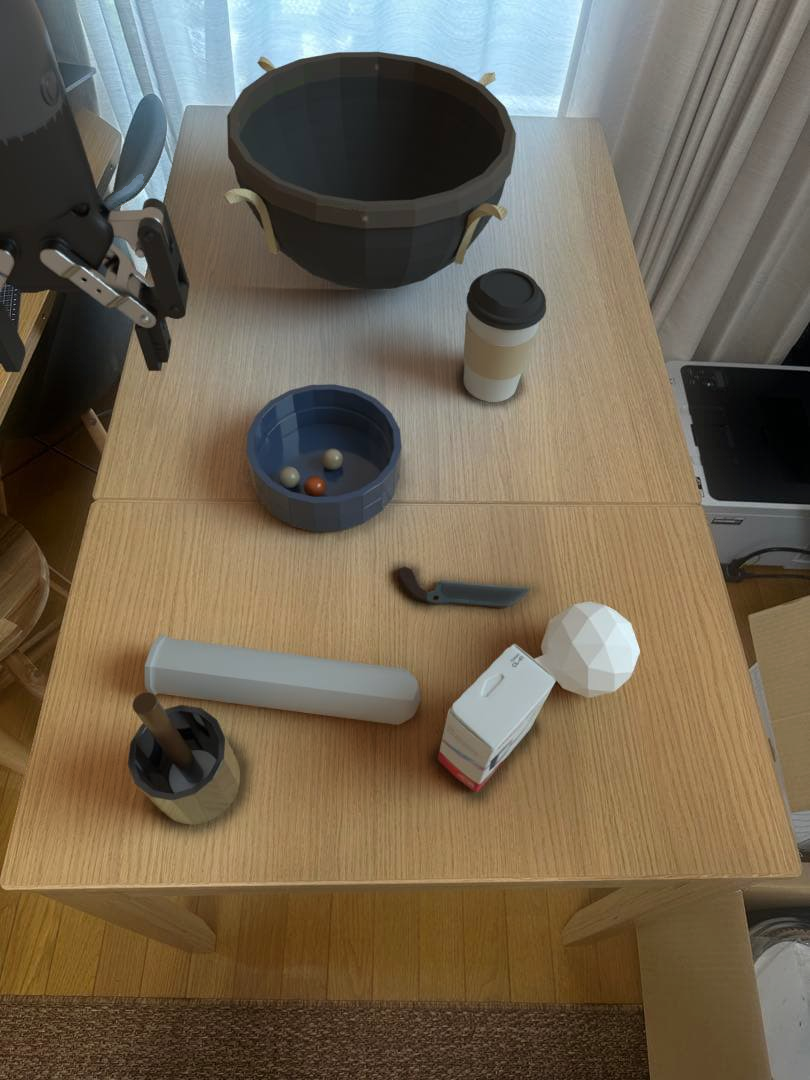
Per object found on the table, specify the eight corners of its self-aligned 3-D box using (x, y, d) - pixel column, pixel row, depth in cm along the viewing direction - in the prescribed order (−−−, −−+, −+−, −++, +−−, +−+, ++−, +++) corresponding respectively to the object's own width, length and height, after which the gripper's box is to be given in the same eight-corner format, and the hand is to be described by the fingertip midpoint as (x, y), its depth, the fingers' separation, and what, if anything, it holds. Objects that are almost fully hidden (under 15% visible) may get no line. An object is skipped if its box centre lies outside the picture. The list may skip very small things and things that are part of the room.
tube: (426, 658, 69) (161, 623, 69) (422, 703, 65) (140, 666, 65) (420, 695, 72) (167, 662, 73) (415, 740, 68) (147, 705, 68)
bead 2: (320, 504, 82) (331, 486, 81) (301, 496, 81) (311, 477, 80) (317, 495, 84) (327, 478, 83) (298, 487, 83) (309, 469, 82)
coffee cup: (491, 347, 98) (511, 248, 85) (540, 387, 94) (567, 290, 82) (440, 376, 94) (452, 278, 82) (488, 419, 91) (509, 323, 78)
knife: (395, 601, 76) (395, 598, 76) (398, 568, 79) (398, 565, 78) (530, 613, 76) (531, 610, 76) (529, 579, 79) (531, 576, 78)
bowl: (488, 196, 116) (510, 57, 99) (499, 356, 97) (528, 218, 80) (261, 183, 115) (244, 40, 98) (228, 342, 96) (199, 199, 79)
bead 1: (285, 482, 84) (282, 494, 82) (275, 466, 83) (272, 478, 81) (304, 476, 84) (301, 489, 82) (295, 459, 82) (292, 471, 80)
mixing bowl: (250, 537, 80) (243, 505, 75) (255, 421, 89) (249, 385, 84) (403, 531, 81) (406, 499, 76) (393, 418, 90) (395, 382, 85)
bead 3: (316, 450, 83) (318, 469, 85) (330, 455, 82) (332, 475, 83) (332, 443, 85) (334, 463, 86) (346, 448, 83) (348, 468, 85)
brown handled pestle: (169, 806, 64) (106, 737, 48) (174, 755, 66) (115, 673, 50) (221, 803, 64) (175, 733, 48) (224, 752, 67) (181, 670, 51)
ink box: (474, 795, 66) (494, 757, 56) (432, 756, 68) (444, 712, 58) (533, 727, 70) (561, 679, 60) (492, 691, 72) (513, 640, 62)
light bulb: (597, 596, 76) (491, 640, 74) (628, 580, 67) (508, 630, 65) (635, 675, 74) (527, 722, 73) (671, 670, 65) (550, 724, 64)
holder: (150, 828, 64) (122, 803, 56) (159, 741, 68) (134, 707, 60) (238, 822, 64) (221, 797, 57) (242, 736, 68) (227, 702, 61)
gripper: (149, 54, 35) (207, 321, 49) (-166, 45, 34) (-17, 321, 48) (127, 140, 31) (197, 406, 45) (-230, 134, 30) (-48, 408, 44)
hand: (87, 362), depth 46 cm, fingers open, 8 cm apart
